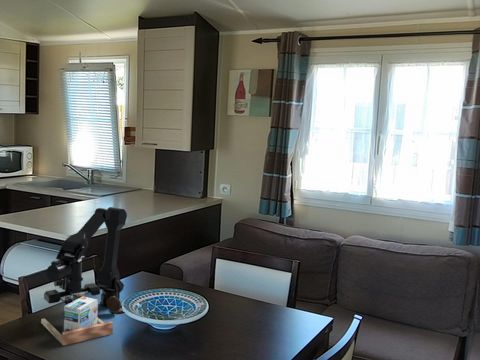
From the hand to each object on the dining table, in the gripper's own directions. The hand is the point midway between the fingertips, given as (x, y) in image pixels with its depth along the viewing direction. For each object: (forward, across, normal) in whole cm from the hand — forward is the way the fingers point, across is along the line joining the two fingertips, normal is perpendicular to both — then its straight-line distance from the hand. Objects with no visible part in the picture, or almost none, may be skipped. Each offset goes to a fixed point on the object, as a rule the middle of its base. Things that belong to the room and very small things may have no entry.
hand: (72, 315), depth 176 cm
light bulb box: (+3, 0, +8) cm, 9 cm away
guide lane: (+3, 0, +4) cm, 5 cm away
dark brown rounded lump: (+4, -19, -3) cm, 19 cm away
